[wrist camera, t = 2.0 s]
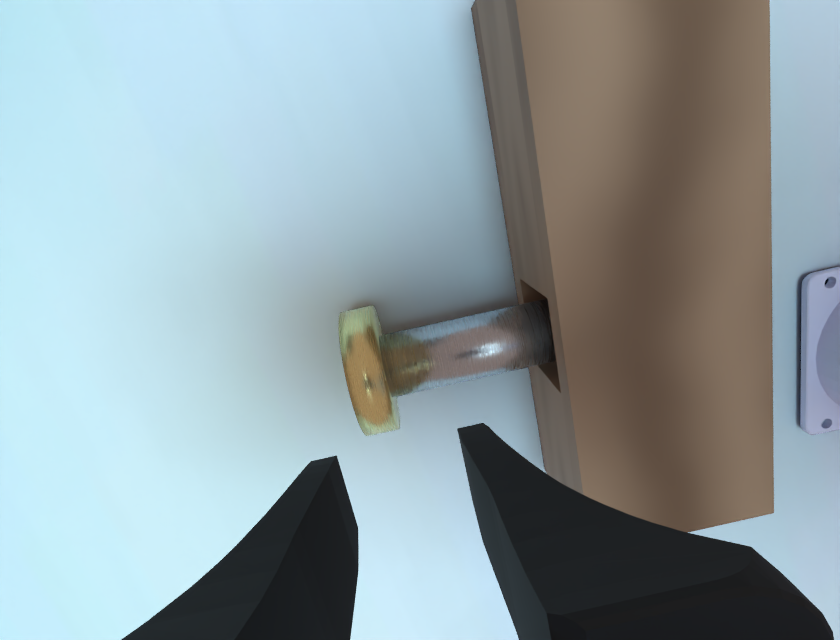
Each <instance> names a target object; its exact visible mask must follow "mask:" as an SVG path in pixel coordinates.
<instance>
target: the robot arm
mask: <svg viewBox="0 0 840 640" xmlns="http://www.w3.org/2000/svg"><path fill="white" fill-rule="evenodd" d="M827 278H828V279H829V280H828V283H827V284H826V285H825V281H826V279H827ZM824 420H825V421H824ZM823 421H824V422H823ZM822 422H823V423H822ZM800 425H801V428H802V430H803V431H805V432H807V433H808V434H811V435H816V434H821V433H825V432H830V431H834V430H839V429H840V267H835V268H831V269H826V270H822V271H817V272H813V273H811V274H808V275H807V276H806V277H805V278H804V280H803V282H802V308H801V419H800ZM458 434H459V439H460V443H461V448H462V453H463V458H464V462H465V467H466V472H467V476H468V481H469V486H470V491H471V495H472V500H473V504H474V508H475V512H476V516H477V520H478V524H479V528H480V532H481V536H482V540H483V543H484V546H485V548H486V551H487V554H488V556H489V559H490V562H491V565H492V567H493V570H494V573H495V575H496V578H497V581H498V583H499V586H500V589H501V591H502V594H503V597H504V599H505V602H506V605H507V607H508V610H509V613H510V615H511V618H512V621H513V623H514V626H515V629H516V632H517V635H518V638H519V640H834V637H833V631H832V630H831V628H830V626H829V624H828V623H827V621H826V619H825V617H824V615H823V614H822V612H821V611H820V610H819V609H818V608H817V607H816V606H815V605H813V604H812V603H811V602H810V601H809V600H808V599H807V598H806V597H805V596H804V595H803V594H802V593H801V592H800V591H799V590H798V589H797V587H796V586H794V585H793V584H792V583H791V582H790V581H789V580H788V579H787V578H786V577H785V576H784V575H783V574H782V573H781V572H780V571H779V570H777V569H776V568H775V567H774V566H773V565H772V564H770V563H769V562H768V561H767V560H766V559H764V558H763V557H762V556H761V555H760V554H759V553H757V552H756V551H755V550H754V549H753V548H752V547H750V546H745V545H740V544H736V543H731V542H727V541H722V540H718V539H713V538H708V537H704V536H699V535H695V534H690V533H687V532H683V531H679V530H676V529H673V528H669V527H666V526H663V525H659V524H656V523H652V522H649V521H647V520H644V519H641V518H638V517H635V516H632V515H629V514H627V513H624V512H622V511H619V510H617V509H614V508H612V507H609V506H607V505H604V504H602V503H600V502H598V501H595V500H593V499H591V498H589V497H587V496H585V495H583V494H581V493H579V492H577V491H575V490H573V489H571V488H569V487H567V486H565V485H564V484H562V483H560V482H559V481H557V480H555V479H554V478H552V477H551V476H549V475H548V474H546V473H545V472H543V471H542V470H540V469H539V468H537V467H536V466H534V465H533V464H532V463H530V462H529V461H528V460H526V459H525V458H524V457H522V456H521V455H520V454H519V453H517V452H516V451H515V450H514V449H512V448H511V447H510V446H509V445H508V444H506V443H505V442H504V441H503V440H502V439H501V438H500V437H498V436H497V435H496V434H495V433H494V432H493V431H492V430H491V429H490V428H489V427H488V426H487V425H485V424H484V423H481V424H476V425H472V426H467V427H463V428H458ZM357 577H358V526H357V523H356V520H355V516H354V513H353V509H352V506H351V503H350V499H349V496H348V492H347V489H346V486H345V482H344V479H343V476H342V472H341V469H340V465H339V462H338V459H337V456H333V457H328V458H324V459H319V460H315V461H311V462H310V463H309V464H308V465H307V466H306V467H305V468H304V470H303V471H302V472H301V473H300V474H299V475H298V477H297V478H296V479H295V480H294V481H293V483H292V484H291V485H290V486H289V487H288V489H287V490H286V491H285V492H284V493H283V495H282V496H281V497H280V498H279V499H278V500H277V502H276V503H275V504H274V505H273V506H272V507H271V509H270V510H269V511H268V512H267V513H266V514H265V515H264V517H263V518H262V519H261V520H260V521H259V522H258V523H257V524H256V525H255V526H254V527H253V528H252V529H251V530H250V531H249V533H248V534H247V535H246V536H245V537H244V538H243V539H242V540H241V541H240V542H239V543H238V544H237V545H236V546H235V547H234V548H233V549H232V550H231V551H230V552H229V553H228V554H227V555H226V556H225V557H224V558H223V559H222V560H221V561H220V562H219V563H218V564H217V565H215V566H214V567H213V568H212V569H211V570H210V571H209V572H208V573H206V574H205V575H204V576H203V577H202V578H201V579H200V580H199V581H197V582H196V583H195V584H194V585H193V586H192V587H190V588H189V589H188V590H187V591H185V592H184V593H183V594H182V595H180V596H179V597H178V598H176V599H175V600H174V601H173V602H171V603H170V604H169V605H167V606H166V607H165V608H164V609H162V610H161V611H160V612H159V613H157V614H156V615H155V616H153V617H152V618H151V619H150V620H148V621H147V622H146V623H144V624H143V625H141V626H140V627H139V628H137V629H136V630H134V631H133V632H132V633H130V634H129V635H127V636H126V637H124V638H123V639H122V640H350V636H351V628H352V620H353V611H354V603H355V594H356V586H357Z"/></svg>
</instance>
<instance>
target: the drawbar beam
mask: <svg viewBox="0 0 840 640" xmlns="http://www.w3.org/2000/svg"><path fill="white" fill-rule="evenodd" d="M471 10H472V17H473V23H474V29H475V35H476V42H477V48H478V54H479V60H480V67H481V73H482V79H483V85H484V92H485V98H486V104H487V110H488V117H489V123H490V129H491V135H492V142H493V148H494V154H495V160H496V167H497V173H498V179H499V185H500V192H501V198H502V204H503V210H504V217H505V223H506V229H507V235H508V242H509V248H510V254H511V260H512V267H513V273H514V279H515V286H516V292H517V298H518V304H519V305H520V304H525V303H529V302H534V301H538V300H543V299H547V298H548V305H549V312H550V319H551V326H552V333H553V340H554V347H555V354H556V361H554V362H549V363H545V364H540V365H536V366H531V367H529V373H530V379H531V386H532V392H533V398H534V404H535V411H536V417H537V423H538V429H539V436H540V442H541V448H542V454H543V461H544V467H545V471H546V472H547V474H548V475H549V476H551V477H552V478H554V479H555V480H557V481H559V482H560V483H562V484H564V485H565V486H567V487H569V488H571V489H573V490H575V491H577V492H579V493H581V494H583V495H585V496H587V497H589V498H591V499H593V500H595V501H598V502H600V503H602V504H604V505H607V506H609V507H612V508H614V509H617V510H619V511H622V512H624V513H627V514H629V515H632V516H635V517H638V518H641V519H644V520H647V521H649V522H652V523H656V524H659V525H663V526H666V527H669V528H673V529H676V530H679V531H683V532H691V531H696V530H700V529H705V528H709V527H714V526H718V525H723V524H727V523H731V522H736V521H740V520H745V519H749V518H754V517H758V516H763V515H767V514H771V513H774V477H773V360H772V244H771V127H770V11H769V0H475V2H474V4H473V6H472V8H471Z"/></svg>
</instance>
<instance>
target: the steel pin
mask: <svg viewBox="0 0 840 640" xmlns="http://www.w3.org/2000/svg"><path fill="white" fill-rule="evenodd" d="M339 340H340V348H341V355H342V361H343V367H344V372H345V377H346V381H347V386H348V390H349V394H350V398H351V401H352V405H353V408H354V411H355V414H356V417H357V420H358V423H359V425H360V427H361V429H362V431H363V433H364V434H365V435H366V436H371V435H375V434H380V433H384V432H389V431H393V430H398V429H400V417H399V408H398V401H397V396H401V395H406V394H410V393H415V392H419V391H424V390H428V389H433V388H437V387H442V386H446V385H451V384H455V383H460V382H464V381H469V380H473V379H478V378H482V377H487V376H491V375H496V374H500V373H505V372H509V371H514V370H518V369H522V368H527V367H531V366H536V365H540V364H545V363H549V362H554V361H556V354H555V347H554V340H553V333H552V326H551V319H550V312H549V305H548V298H547V299H543V300H538V301H534V302H529V303H525V304H520V305H516V306H511V307H507V308H502V309H498V310H493V311H489V312H484V313H480V314H475V315H471V316H466V317H462V318H457V319H453V320H448V321H444V322H439V323H435V324H430V325H426V326H421V327H417V328H412V329H408V330H403V331H399V332H394V333H390V334H385V335H383V332H382V328H381V325H380V321H379V318H378V315H377V312H376V310H375V308H374V306H373V305H371V306H367V307H362V308H358V309H353V310H349V311H344V312H341V313H340V315H339Z"/></svg>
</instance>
